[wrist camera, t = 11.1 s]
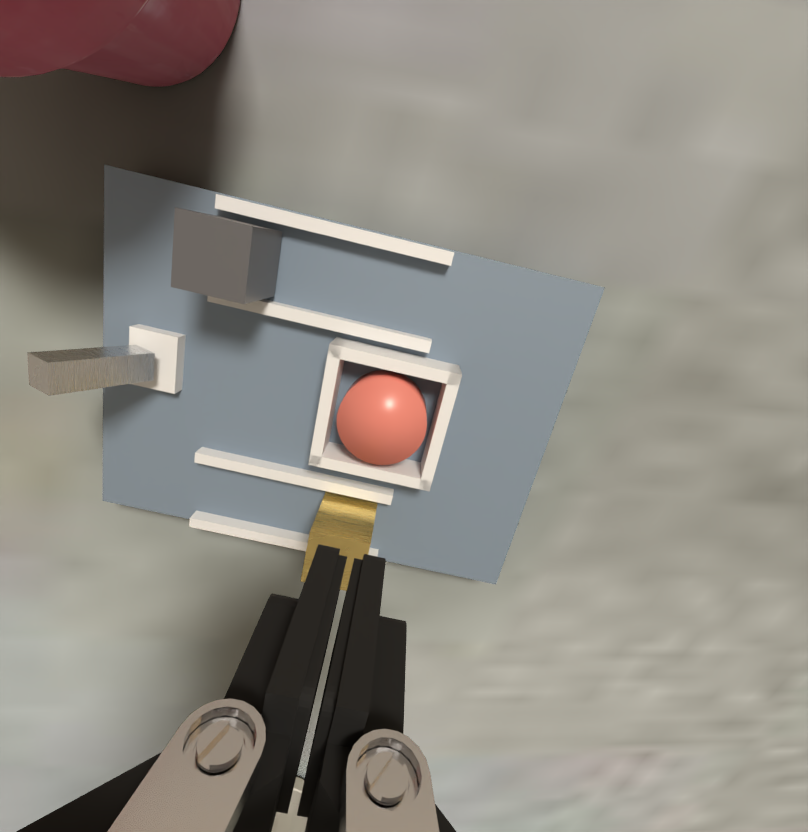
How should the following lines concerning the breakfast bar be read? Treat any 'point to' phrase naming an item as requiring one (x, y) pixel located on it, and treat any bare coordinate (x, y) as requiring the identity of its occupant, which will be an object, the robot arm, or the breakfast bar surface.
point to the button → (382, 418)
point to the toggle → (89, 368)
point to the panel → (331, 380)
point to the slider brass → (341, 530)
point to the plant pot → (115, 37)
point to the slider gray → (224, 257)
